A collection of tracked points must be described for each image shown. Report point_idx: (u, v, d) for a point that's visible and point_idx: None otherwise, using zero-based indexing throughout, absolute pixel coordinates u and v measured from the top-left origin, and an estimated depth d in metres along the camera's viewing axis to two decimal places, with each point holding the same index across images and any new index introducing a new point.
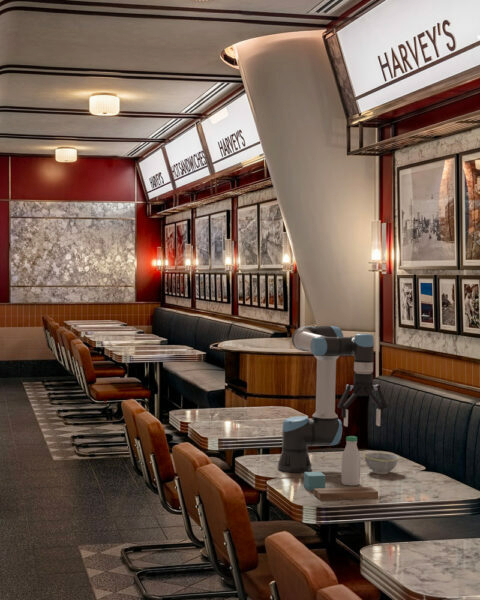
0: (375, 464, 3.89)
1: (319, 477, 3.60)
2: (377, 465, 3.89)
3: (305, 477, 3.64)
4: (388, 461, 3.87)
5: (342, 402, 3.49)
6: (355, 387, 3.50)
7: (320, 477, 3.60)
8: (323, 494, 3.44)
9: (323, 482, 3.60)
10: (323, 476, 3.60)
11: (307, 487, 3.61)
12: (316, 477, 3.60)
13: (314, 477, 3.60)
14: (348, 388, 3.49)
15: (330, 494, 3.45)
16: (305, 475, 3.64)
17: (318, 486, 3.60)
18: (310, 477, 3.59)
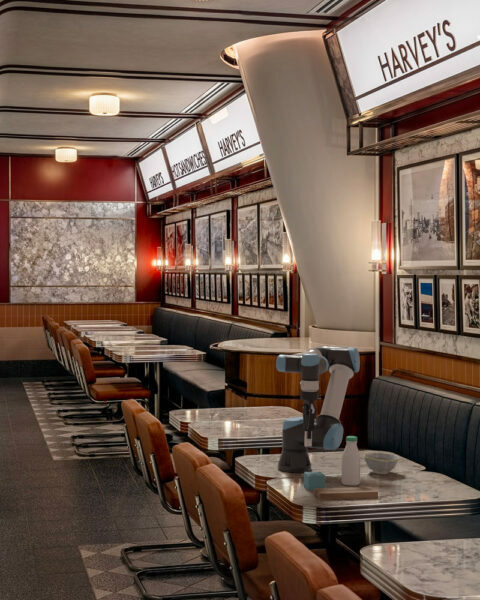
0: (375, 464, 3.89)
1: (319, 477, 3.60)
2: (377, 465, 3.89)
3: (305, 477, 3.64)
4: (388, 461, 3.87)
5: (303, 422, 3.76)
6: (304, 403, 3.75)
7: (320, 477, 3.60)
8: (323, 494, 3.44)
9: (323, 482, 3.60)
10: (323, 476, 3.60)
11: (307, 487, 3.61)
12: (316, 477, 3.60)
13: (314, 477, 3.60)
14: (302, 408, 3.77)
15: (330, 494, 3.45)
16: (305, 475, 3.64)
17: (318, 486, 3.60)
18: (310, 477, 3.59)
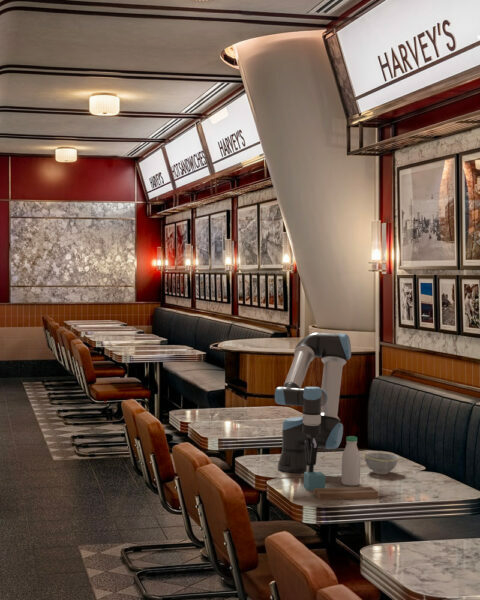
0: (375, 464, 3.89)
1: (319, 477, 3.60)
2: (377, 465, 3.89)
3: (305, 477, 3.64)
4: (388, 461, 3.87)
5: (305, 455, 3.72)
6: (306, 437, 3.71)
7: (320, 477, 3.60)
8: (323, 494, 3.44)
9: (323, 482, 3.60)
10: (323, 476, 3.60)
11: (307, 487, 3.61)
12: (316, 477, 3.60)
13: (314, 477, 3.60)
14: (304, 441, 3.73)
15: (330, 494, 3.45)
16: (305, 475, 3.64)
17: (318, 486, 3.60)
18: (310, 477, 3.59)
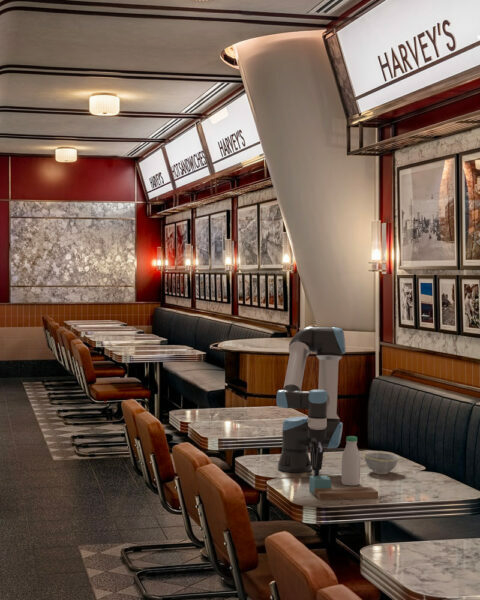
0: (375, 464, 3.89)
1: (325, 481, 3.53)
2: (377, 465, 3.89)
3: (311, 481, 3.56)
4: (388, 461, 3.87)
5: (310, 460, 3.64)
6: (311, 441, 3.64)
7: (326, 481, 3.53)
8: (323, 494, 3.44)
9: (329, 486, 3.53)
10: (329, 480, 3.53)
11: (313, 491, 3.53)
12: (322, 481, 3.52)
13: (320, 481, 3.52)
14: (309, 445, 3.66)
15: (330, 494, 3.45)
16: (311, 479, 3.56)
17: None
18: (316, 481, 3.52)
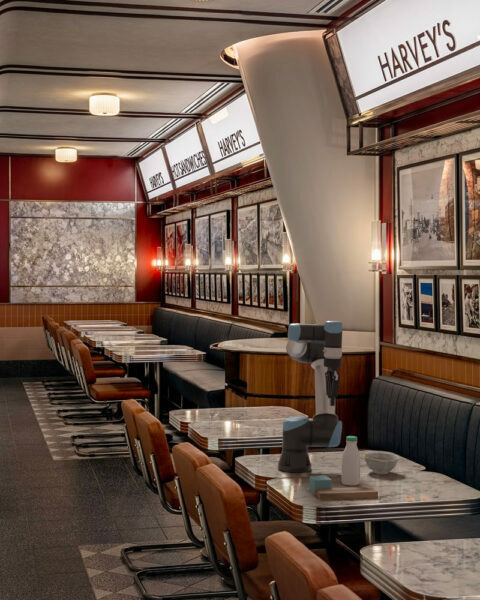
0: (375, 464, 3.89)
1: (325, 481, 3.53)
2: (377, 465, 3.89)
3: (311, 481, 3.56)
4: (388, 461, 3.87)
5: (326, 389, 3.76)
6: (327, 371, 3.76)
7: (326, 481, 3.53)
8: (323, 494, 3.44)
9: (329, 486, 3.53)
10: (329, 480, 3.53)
11: (313, 491, 3.53)
12: (322, 481, 3.52)
13: (320, 481, 3.52)
14: (325, 375, 3.78)
15: (330, 494, 3.45)
16: (311, 479, 3.56)
17: None
18: (316, 481, 3.52)
